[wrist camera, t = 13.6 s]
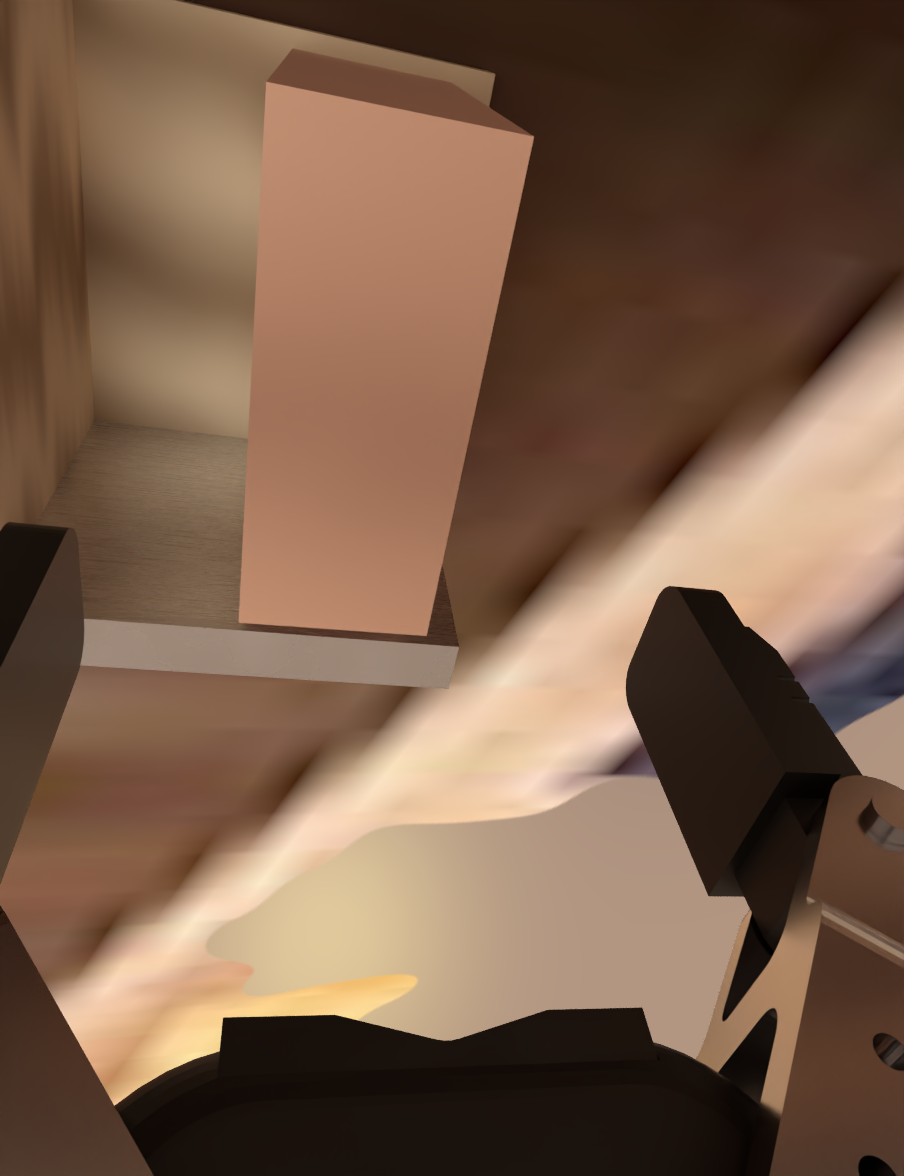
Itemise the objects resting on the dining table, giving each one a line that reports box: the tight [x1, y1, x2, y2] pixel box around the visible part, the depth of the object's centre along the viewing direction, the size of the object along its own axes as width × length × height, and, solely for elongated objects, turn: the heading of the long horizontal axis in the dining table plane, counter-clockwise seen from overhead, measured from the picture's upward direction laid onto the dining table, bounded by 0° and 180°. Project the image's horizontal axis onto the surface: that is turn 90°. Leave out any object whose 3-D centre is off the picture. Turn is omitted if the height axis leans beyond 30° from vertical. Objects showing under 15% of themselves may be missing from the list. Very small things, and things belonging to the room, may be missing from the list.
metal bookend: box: [36, 420, 459, 689], centre depth 25 cm, size 2×12×11 cm, turn 79°
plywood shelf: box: [0, 0, 495, 531], centre depth 22 cm, size 14×13×14 cm
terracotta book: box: [239, 48, 534, 636], centre depth 21 cm, size 11×4×12 cm, turn 169°
